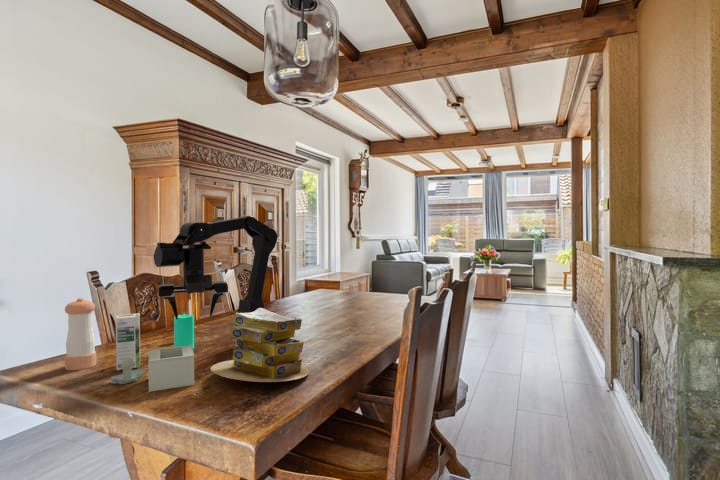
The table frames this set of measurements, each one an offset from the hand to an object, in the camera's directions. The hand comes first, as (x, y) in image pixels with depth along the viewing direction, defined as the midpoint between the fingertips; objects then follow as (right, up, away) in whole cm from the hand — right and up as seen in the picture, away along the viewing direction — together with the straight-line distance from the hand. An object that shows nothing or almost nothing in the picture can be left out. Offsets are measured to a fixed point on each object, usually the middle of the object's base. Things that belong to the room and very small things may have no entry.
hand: (193, 317), depth 118 cm
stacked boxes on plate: (+23, -13, -13) cm, 30 cm away
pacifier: (-10, -13, -17) cm, 24 cm away
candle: (-8, -13, +12) cm, 19 cm away
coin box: (+1, -13, -17) cm, 21 cm away
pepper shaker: (-29, -13, -6) cm, 33 cm away
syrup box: (-16, -13, -6) cm, 21 cm away
